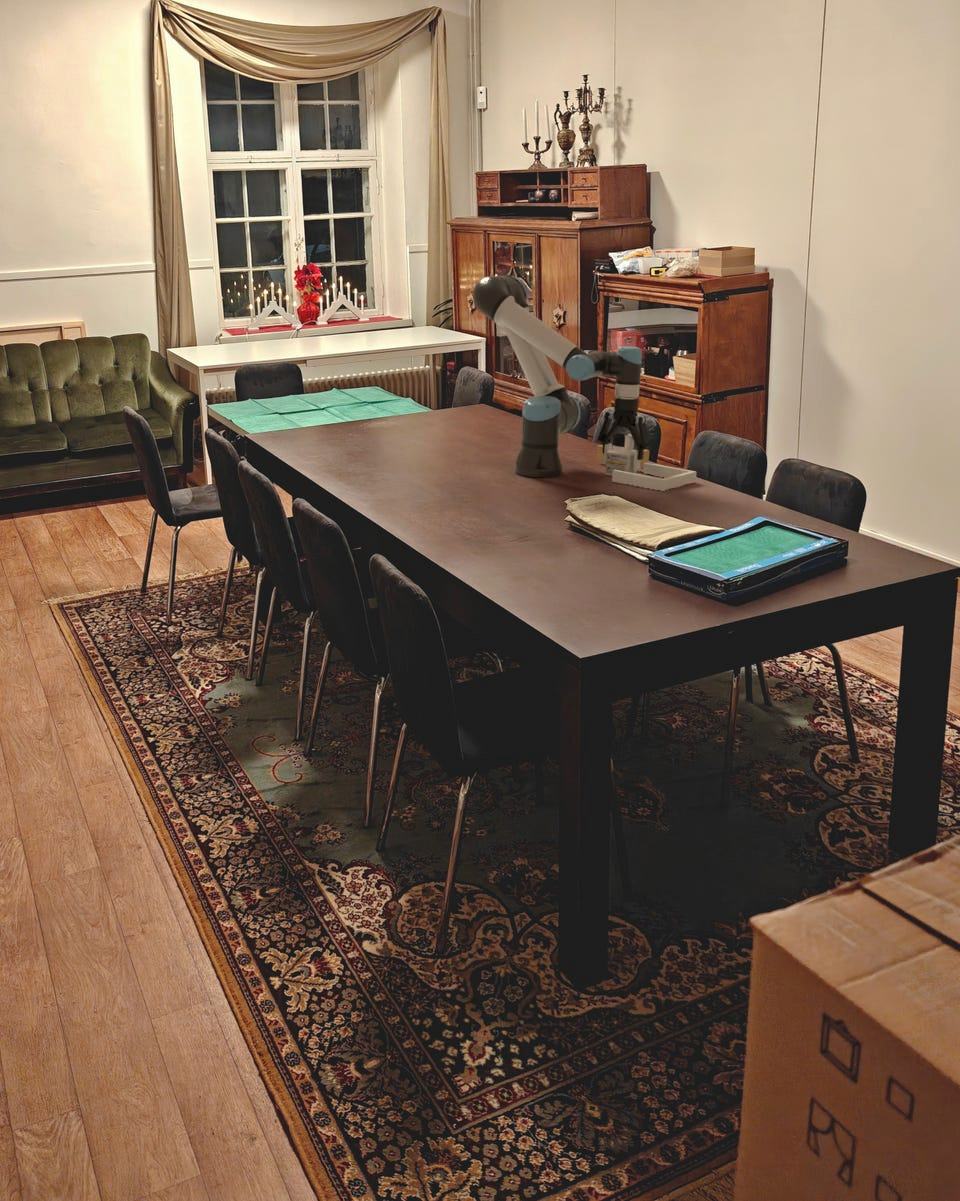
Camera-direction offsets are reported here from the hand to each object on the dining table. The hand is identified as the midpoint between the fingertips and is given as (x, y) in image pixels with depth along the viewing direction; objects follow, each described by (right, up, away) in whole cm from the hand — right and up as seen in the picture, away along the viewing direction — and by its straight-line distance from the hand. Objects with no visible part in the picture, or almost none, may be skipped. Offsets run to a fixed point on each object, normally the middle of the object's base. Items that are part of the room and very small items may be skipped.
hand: (621, 466), depth 363 cm
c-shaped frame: (+9, -6, -8) cm, 14 cm away
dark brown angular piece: (+8, -1, +6) cm, 10 cm away
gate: (+1, +3, +11) cm, 11 cm away
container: (0, -3, +1) cm, 3 cm away
